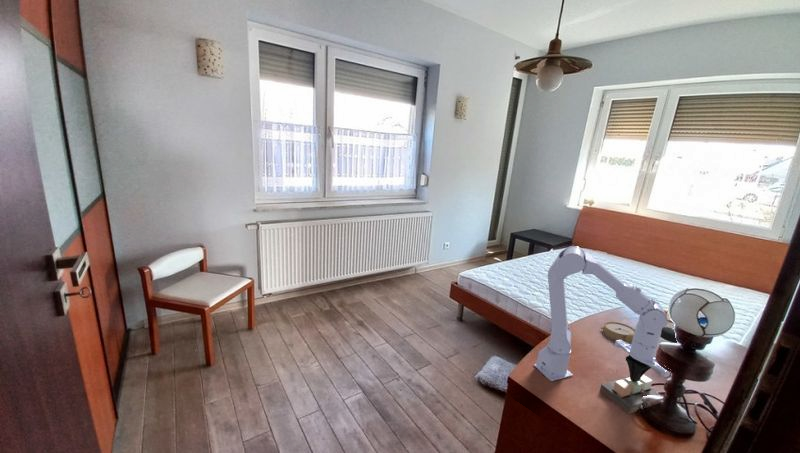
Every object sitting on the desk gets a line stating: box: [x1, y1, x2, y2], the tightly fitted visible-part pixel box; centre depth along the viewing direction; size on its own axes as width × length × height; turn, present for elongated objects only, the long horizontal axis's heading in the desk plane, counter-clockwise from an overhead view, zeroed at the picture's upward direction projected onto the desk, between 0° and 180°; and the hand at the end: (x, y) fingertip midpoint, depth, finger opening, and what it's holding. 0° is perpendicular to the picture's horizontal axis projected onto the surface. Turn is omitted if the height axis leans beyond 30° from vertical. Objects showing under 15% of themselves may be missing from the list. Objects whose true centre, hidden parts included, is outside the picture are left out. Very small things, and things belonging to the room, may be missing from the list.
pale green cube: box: [625, 376, 642, 394], centre depth 94 cm, size 3×3×3 cm
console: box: [599, 375, 661, 415], centre depth 95 cm, size 14×9×3 cm, turn 108°
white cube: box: [639, 373, 653, 391], centre depth 95 cm, size 3×3×3 cm
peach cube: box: [613, 379, 632, 397], centre depth 92 cm, size 3×3×3 cm
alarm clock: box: [600, 321, 636, 345], centre depth 126 cm, size 11×5×15 cm
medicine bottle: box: [654, 327, 677, 357], centre depth 113 cm, size 7×7×12 cm
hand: (634, 380), depth 93 cm, fingers closed
